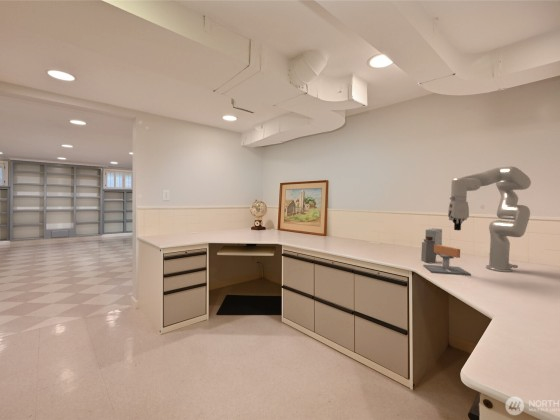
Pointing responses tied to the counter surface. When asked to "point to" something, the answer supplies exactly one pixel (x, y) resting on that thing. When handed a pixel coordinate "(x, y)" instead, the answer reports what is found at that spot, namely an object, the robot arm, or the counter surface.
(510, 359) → the counter surface
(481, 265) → the counter surface
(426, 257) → the perfume bottle
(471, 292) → the counter surface
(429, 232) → the hard drive box
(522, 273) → the counter surface
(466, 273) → the post board
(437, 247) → the orange brown block
